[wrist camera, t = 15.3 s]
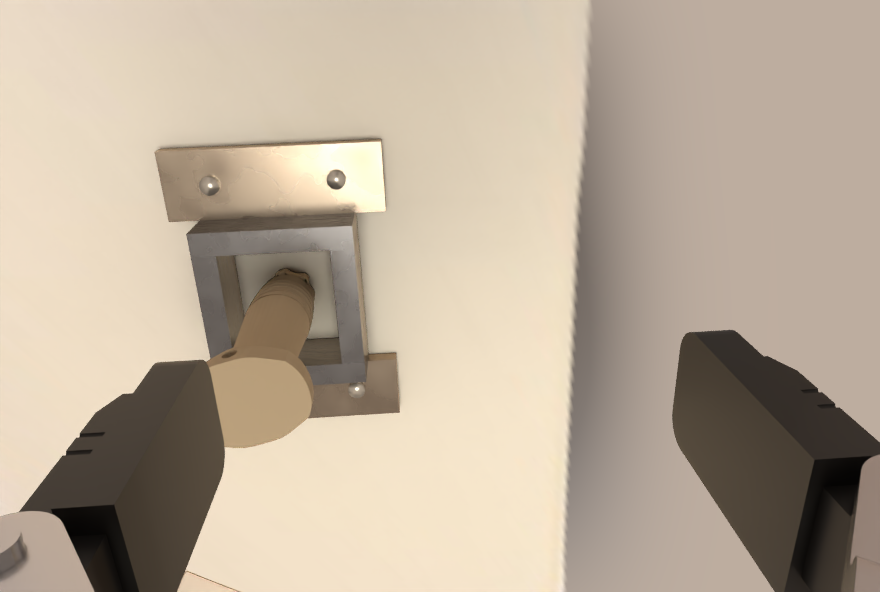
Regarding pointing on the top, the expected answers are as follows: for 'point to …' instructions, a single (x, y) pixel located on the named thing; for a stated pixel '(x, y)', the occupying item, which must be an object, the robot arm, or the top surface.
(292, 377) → the handle
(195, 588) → the milk
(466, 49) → the top surface
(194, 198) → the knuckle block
